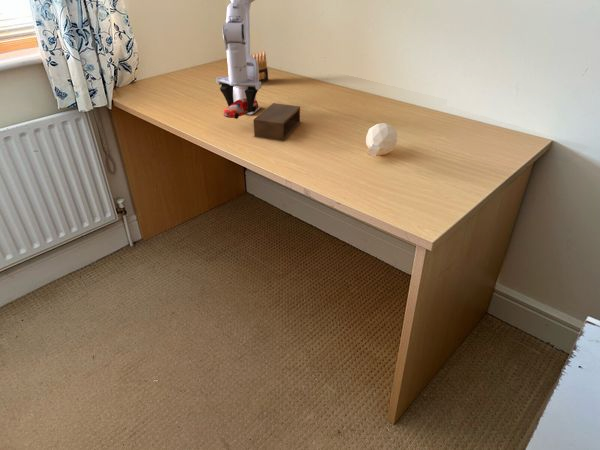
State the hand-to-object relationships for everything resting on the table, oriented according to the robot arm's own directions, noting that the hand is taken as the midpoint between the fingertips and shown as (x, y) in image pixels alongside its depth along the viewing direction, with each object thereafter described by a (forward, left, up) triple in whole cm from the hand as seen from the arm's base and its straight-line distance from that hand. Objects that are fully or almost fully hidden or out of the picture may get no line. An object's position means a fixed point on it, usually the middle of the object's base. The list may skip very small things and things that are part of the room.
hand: (240, 109), depth 139 cm
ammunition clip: (-15, +46, -6) cm, 49 cm away
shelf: (+12, +1, -6) cm, 14 cm away
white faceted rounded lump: (+46, -6, -6) cm, 47 cm away
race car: (0, 0, -2) cm, 2 cm away
